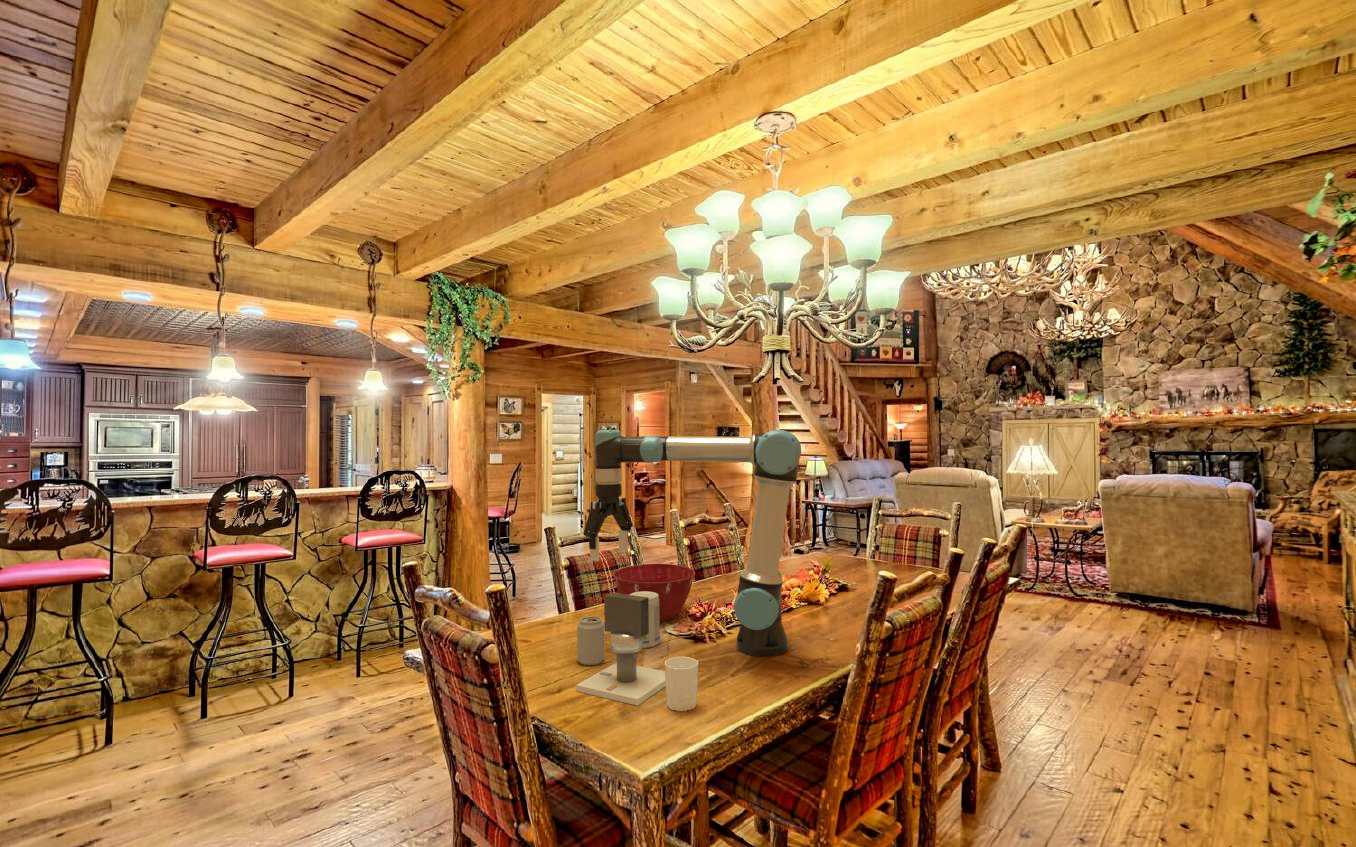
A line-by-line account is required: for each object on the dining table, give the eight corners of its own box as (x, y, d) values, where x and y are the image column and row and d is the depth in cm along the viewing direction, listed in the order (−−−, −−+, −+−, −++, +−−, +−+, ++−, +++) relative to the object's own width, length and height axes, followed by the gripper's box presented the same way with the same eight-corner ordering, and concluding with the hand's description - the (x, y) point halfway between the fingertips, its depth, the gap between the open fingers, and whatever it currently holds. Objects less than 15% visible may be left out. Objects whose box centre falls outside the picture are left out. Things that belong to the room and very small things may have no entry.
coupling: (653, 646, 161) (653, 595, 161) (636, 656, 154) (636, 602, 154) (614, 639, 167) (614, 590, 167) (596, 648, 160) (596, 597, 160)
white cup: (674, 715, 142) (674, 671, 142) (659, 702, 149) (658, 660, 149) (704, 708, 146) (704, 664, 146) (688, 696, 153) (688, 654, 153)
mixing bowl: (685, 631, 203) (685, 583, 203) (601, 625, 210) (601, 579, 210) (702, 607, 230) (702, 565, 231) (627, 603, 237) (627, 562, 237)
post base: (675, 679, 163) (674, 644, 163) (637, 705, 148) (637, 667, 148) (617, 667, 172) (617, 634, 172) (576, 691, 156) (576, 654, 156)
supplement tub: (647, 636, 198) (647, 589, 198) (666, 644, 191) (666, 595, 191) (621, 643, 192) (621, 594, 192) (640, 651, 185) (640, 600, 185)
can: (608, 658, 179) (608, 616, 179) (596, 668, 172) (596, 623, 172) (585, 655, 181) (584, 613, 181) (572, 665, 174) (572, 621, 174)
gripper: (623, 479, 196) (624, 548, 196) (570, 486, 175) (571, 562, 175) (643, 480, 192) (644, 550, 192) (591, 486, 171) (592, 565, 171)
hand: (609, 556), depth 183 cm, fingers open, 13 cm apart
